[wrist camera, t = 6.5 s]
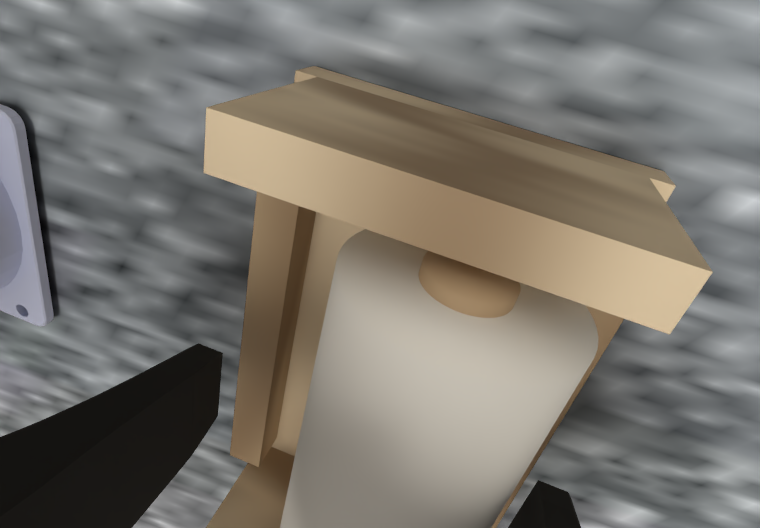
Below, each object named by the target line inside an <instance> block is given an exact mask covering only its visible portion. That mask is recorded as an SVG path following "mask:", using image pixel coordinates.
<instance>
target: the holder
mask: <svg viewBox="0 0 760 528" xmlns="http://www.w3.org/2000/svg"><path fill="white" fill-rule="evenodd" d="M204 173H206V174H208V175H211V176H214V177H217V178H220V179H223V180H226V181H229V182H232V183H234V184H237V185H240V186H243V187H246V188H249V189H252V190H255V191H257V197H256V207H255V216H254V226H253V236H252V245H251V255H250V265H249V274H248V284H247V294H246V304H245V313H244V323H243V333H242V342H241V352H240V362H239V371H238V381H237V391H236V400H235V410H234V420H233V429H232V439H231V449H230V455H232V456H234V457H236V458H238V459H241V460H243V461H245V462H248V464H247V465H246V467H245V468H244V470H243V472H242V473H241V475H240V476H239V478H238V479H237V481H236V482H235V484H234V485H233V487H232V488H231V490H230V491H229V493H228V495H227V496H226V498H225V499H224V501H223V502H222V504H221V505H220V507H219V508H218V510H217V511H216V513H215V514H214V516H213V518H212V519H211V521H210V522H209V524H208V525H207V527H206V528H280V524H281V520H282V515H283V510H284V505H285V501H286V496H287V491H288V487H289V482H290V477H291V472H292V468H293V463H294V458H295V454H296V449H297V444H298V439H299V435H300V430H301V425H302V421H303V416H304V411H305V406H306V402H307V397H308V392H309V388H310V383H311V378H312V373H313V369H314V364H315V359H316V355H317V350H318V345H319V340H320V336H321V331H322V326H323V322H324V317H325V312H326V307H327V303H328V298H329V293H330V289H331V284H332V279H333V274H334V270H335V265H336V261H337V257H338V253H339V251H340V249H341V248H342V246H343V245H344V244H345V242H346V241H347V240H348V239H349V238H351V237H352V236H353V235H355V234H356V233H358V232H360V231H362V230H364V229H367V230H370V231H373V232H376V233H379V234H382V235H384V236H387V237H390V238H393V239H396V240H399V241H402V242H405V243H407V244H410V245H413V246H416V247H419V248H422V249H425V250H428V251H431V252H433V253H436V254H439V255H442V256H445V257H448V258H451V259H454V260H457V261H459V262H462V263H465V264H468V265H471V266H474V267H477V268H480V269H482V270H485V271H488V272H491V273H494V274H497V275H500V276H503V277H506V278H508V279H511V280H514V281H517V282H520V283H523V284H526V285H529V286H532V287H534V288H537V289H540V290H543V291H546V292H549V293H552V294H555V295H557V296H560V297H563V298H566V299H569V300H572V301H575V302H578V303H581V304H583V305H585V306H586V307H587V308H588V310H589V312H590V314H591V316H592V317H593V319H594V322H595V325H596V328H597V332H598V349H597V352H596V355H595V357H594V359H593V361H592V363H591V364H590V366H589V368H588V369H587V371H586V372H585V374H584V376H583V377H582V379H581V381H580V382H579V384H578V386H577V387H576V389H575V391H574V392H573V394H572V396H571V397H570V399H569V400H568V402H567V404H566V405H565V407H564V409H563V410H562V412H561V414H560V415H559V417H558V419H557V420H556V422H555V424H554V425H553V427H552V428H551V430H550V432H549V433H548V435H547V437H546V438H545V440H544V442H543V443H542V445H541V447H540V448H539V450H538V452H537V453H536V455H535V456H534V458H533V460H532V461H531V463H530V465H529V466H528V468H527V470H526V471H525V473H524V475H523V476H522V478H521V480H520V481H519V483H518V484H517V486H516V488H515V489H514V491H513V493H512V494H511V496H510V498H509V499H508V501H507V503H506V504H505V506H504V508H503V509H502V511H501V512H500V514H499V516H498V517H497V519H496V521H495V522H494V524H493V526H492V527H491V528H496V527H497V525H498V523H499V522H500V520H501V519H502V517H503V515H504V514H505V512H506V510H507V509H508V507H509V506H510V504H511V502H512V501H513V499H514V497H515V496H516V494H517V493H518V491H519V489H520V488H521V486H522V484H523V483H524V481H525V479H526V478H527V476H528V475H529V473H530V471H531V470H532V468H533V466H534V465H535V463H536V462H537V460H538V458H539V457H540V455H541V453H542V452H543V450H544V449H545V447H546V445H547V444H548V442H549V440H550V439H551V437H552V436H553V434H554V432H555V431H556V429H557V427H558V426H559V424H560V422H561V421H562V419H563V418H564V416H565V414H566V413H567V411H568V409H569V408H570V406H571V405H572V403H573V401H574V400H575V398H576V396H577V395H578V393H579V392H580V390H581V388H582V387H583V385H584V383H585V382H586V380H587V379H588V377H589V375H590V374H591V372H592V370H593V369H594V367H595V366H596V364H597V362H598V361H599V359H600V357H601V356H602V354H603V352H604V351H605V349H606V348H607V346H608V344H609V343H610V341H611V339H612V338H613V336H614V335H615V333H616V331H617V330H618V328H619V326H620V325H621V323H622V322H623V320H624V319H627V320H630V321H632V322H635V323H638V324H641V325H644V326H647V327H650V328H653V329H656V330H658V331H661V332H664V333H667V334H670V333H671V332H672V330H673V329H674V327H675V326H676V325H677V323H678V322H679V320H680V319H681V317H682V316H683V314H684V313H685V312H686V310H687V309H688V307H689V306H690V304H691V303H692V301H693V300H694V298H695V297H696V296H697V294H698V293H699V291H700V290H701V288H702V287H703V285H704V284H705V283H706V281H707V280H708V278H709V277H710V275H711V274H712V270H711V269H710V267H709V266H708V264H707V263H706V261H705V260H704V258H703V257H702V255H701V254H700V252H699V251H698V249H697V248H696V246H695V245H694V244H693V242H692V241H691V239H690V238H689V236H688V235H687V233H686V232H685V230H684V229H683V227H682V226H681V224H680V223H679V221H678V220H677V218H676V217H675V215H674V214H673V212H672V211H671V209H670V208H669V206H668V205H667V203H666V202H667V200H668V199H669V197H670V195H671V193H672V192H673V190H674V188H675V184H674V183H673V182H672V181H671V179H670V178H669V177H668V176H667V174H666V173H665V172H664V171H661V170H658V169H654V168H651V167H648V166H644V165H641V164H638V163H634V162H631V161H628V160H624V159H621V158H618V157H615V156H611V155H608V154H605V153H601V152H598V151H595V150H591V149H588V148H585V147H581V146H578V145H575V144H571V143H568V142H565V141H561V140H558V139H555V138H551V137H548V136H545V135H541V134H538V133H535V132H532V131H528V130H525V129H522V128H518V127H515V126H512V125H508V124H505V123H502V122H498V121H495V120H492V119H488V118H485V117H482V116H478V115H475V114H472V113H468V112H465V111H462V110H458V109H455V108H452V107H449V106H445V105H442V104H439V103H435V102H432V101H429V100H425V99H422V98H419V97H415V96H412V95H409V94H405V93H402V92H399V91H395V90H392V89H389V88H385V87H382V86H379V85H375V84H372V83H369V82H366V81H362V80H359V79H356V78H352V77H349V76H346V75H342V74H339V73H336V72H332V71H329V70H326V69H322V68H319V67H316V66H313V67H308V68H304V69H299V70H296V72H295V80H294V83H293V84H289V85H286V86H282V87H278V88H275V89H271V90H268V91H264V92H260V93H257V94H253V95H250V96H246V97H242V98H239V99H235V100H231V101H228V102H224V103H221V104H217V105H213V106H210V107H206V128H205V152H204Z"/></svg>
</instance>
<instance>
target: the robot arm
mask: <svg viewBox="0 0 760 528" xmlns="http://www.w3.org/2000/svg"><path fill="white" fill-rule="evenodd" d="M0 311H3V312H5V313H8V314H10V315H12V316H15V317H17V318H20V319H22V320H24V321H27V322H29V323H31V324H34V325H37V326H45V325H46V324H48V323H49V322H51V321H52V320H53V316H54V313H53V307H52V300H51V294H50V287H49V280H48V274H47V267H46V261H45V254H44V247H43V241H42V234H41V228H40V221H39V214H38V208H37V201H36V195H35V188H34V181H33V175H32V168H31V162H30V155H29V148H28V142H27V135H26V129H25V125H24V122H23V120H22V119H21V117H20V116H19V115H18V114H17V113H16V112H15V111H14V110H13V109H11V108H9V107H7V106H4V105H1V104H0ZM222 354H223V353H221V352H218V351H216V350H214V349H211V348H209V347H206V346H204V345H201V344H196V345H194V346H192V347H190V348H188V349H186V350H184V351H182V352H181V353H179V354H177V355H175V356H173V357H171V358H169V359H167V360H165V361H163V362H162V363H160V364H158V365H156V366H154V367H152V368H150V369H148V370H146V371H144V372H142V373H141V374H139V375H137V376H135V377H133V378H131V379H129V380H127V381H125V382H123V383H121V384H119V385H117V386H115V387H113V388H111V389H109V390H107V391H105V392H103V393H101V394H99V395H97V396H94V397H92V398H90V399H88V400H86V401H84V402H82V403H79V404H77V405H75V406H73V407H71V408H68V409H66V410H64V411H62V412H59V413H57V414H55V415H53V416H51V417H48V418H46V419H44V420H41V421H39V422H37V423H34V424H32V425H30V426H27V427H25V428H22V429H20V430H17V431H15V432H12V433H10V434H7V435H5V436H2V437H0V528H132V527H133V526H134V524H135V523H136V522H137V521H138V520H139V518H140V517H141V516H142V515H143V514H144V512H145V511H146V510H147V509H148V508H149V506H150V505H151V504H152V503H153V502H154V500H155V499H156V498H157V497H158V496H159V494H160V493H161V492H162V491H163V490H164V488H165V487H166V486H167V485H168V484H169V482H170V481H171V480H172V479H173V478H174V476H175V475H176V474H177V473H178V471H179V470H180V469H181V468H182V467H183V465H184V464H185V463H186V462H187V460H188V459H189V458H190V457H191V455H192V454H193V453H194V451H195V450H196V448H197V447H198V445H199V444H200V442H201V441H202V439H203V438H204V436H205V435H206V433H207V431H208V430H209V428H210V427H211V425H212V424H213V422H214V421H215V419H216V417H217V416H218V405H219V393H220V380H221V367H222ZM508 528H581V526H580V523H579V520H578V518H577V515H576V512H575V509H574V506H573V503H572V500H571V497H570V495H569V493H568V492H566V491H564V490H561V489H559V488H556V487H554V486H551V485H549V484H546V483H544V482H541V481H539V480H538V482H537V483H536V485H535V486H534V488H533V489H532V491H531V493H530V494H529V496H528V497H527V499H526V500H525V502H524V504H523V505H522V507H521V508H520V510H519V511H518V513H517V515H516V516H515V518H514V519H513V521H512V522H511V524H510V526H509V527H508Z"/></svg>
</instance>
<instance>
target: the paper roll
mask: <svg viewBox="0 0 760 528" xmlns="http://www.w3.org/2000/svg"><path fill="white" fill-rule="evenodd" d="M597 349H598V332H597V328H596V325H595V322H594V319H593V317H592V316H591V314H590V312H589V310H588V308H587V307H586V306H585V305H583V304H581V303H578V302H575V301H572V300H569V299H566V298H563V297H560V296H557V295H555V294H552V293H549V292H546V291H543V290H540V289H537V288H534V287H532V286H529V285H526V284H523V283H520V282H517V281H514V280H511V279H508V278H506V277H503V276H500V275H497V274H494V273H491V272H488V271H485V270H482V269H480V268H477V267H474V266H471V265H468V264H465V263H462V262H459V261H457V260H454V259H451V258H448V257H445V256H442V255H439V254H436V253H433V252H431V251H428V250H425V249H422V248H419V247H416V246H413V245H410V244H407V243H405V242H402V241H399V240H396V239H393V238H390V237H387V236H384V235H382V234H379V233H376V232H373V231H370V230H367V229H364V230H362V231H360V232H358V233H356V234H355V235H353V236H352V237H351V238H349V239H348V240H347V241H346V242H345V244H344V245H343V246H342V248H341V249H340V251H339V253H338V257H337V261H336V265H335V270H334V274H333V279H332V284H331V289H330V293H329V298H328V303H327V307H326V312H325V317H324V322H323V326H322V331H321V336H320V340H319V345H318V350H317V355H316V359H315V364H314V369H313V373H312V378H311V383H310V388H309V392H308V397H307V402H306V406H305V411H304V416H303V421H302V425H301V430H300V435H299V439H298V444H297V449H296V454H295V458H294V463H293V468H292V472H291V477H290V482H289V487H288V491H287V496H286V501H285V505H284V510H283V515H282V520H281V524H280V528H491V527H492V526H493V524H494V522H495V521H496V519H497V517H498V516H499V514H500V512H501V511H502V509H503V508H504V506H505V504H506V503H507V501H508V499H509V498H510V496H511V494H512V493H513V491H514V489H515V488H516V486H517V484H518V483H519V481H520V480H521V478H522V476H523V475H524V473H525V471H526V470H527V468H528V466H529V465H530V463H531V461H532V460H533V458H534V456H535V455H536V453H537V452H538V450H539V448H540V447H541V445H542V443H543V442H544V440H545V438H546V437H547V435H548V433H549V432H550V430H551V428H552V427H553V425H554V424H555V422H556V420H557V419H558V417H559V415H560V414H561V412H562V410H563V409H564V407H565V405H566V404H567V402H568V400H569V399H570V397H571V396H572V394H573V392H574V391H575V389H576V387H577V386H578V384H579V382H580V381H581V379H582V377H583V376H584V374H585V372H586V371H587V369H588V368H589V366H590V364H591V363H592V361H593V359H594V357H595V355H596V352H597Z"/></svg>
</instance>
